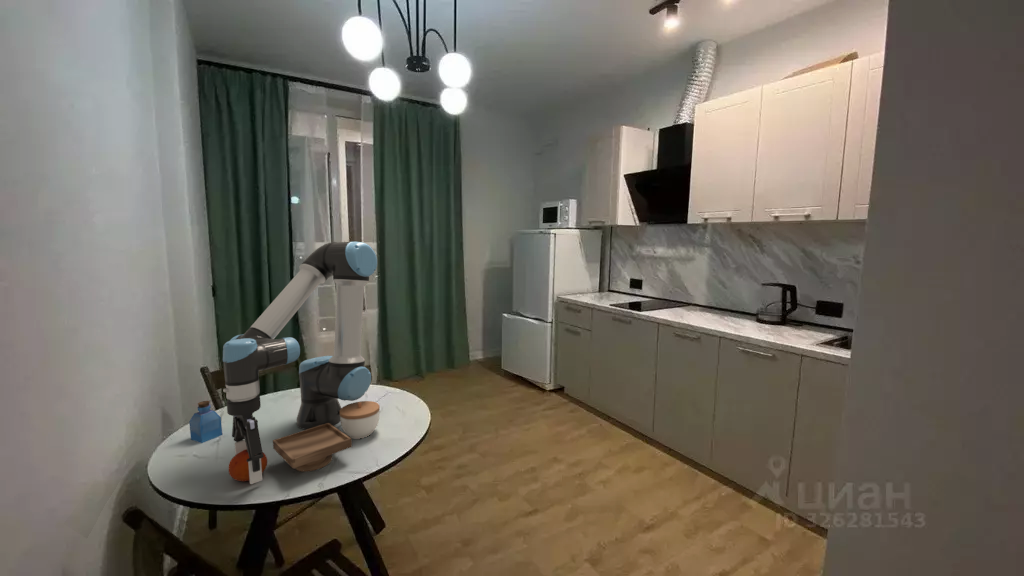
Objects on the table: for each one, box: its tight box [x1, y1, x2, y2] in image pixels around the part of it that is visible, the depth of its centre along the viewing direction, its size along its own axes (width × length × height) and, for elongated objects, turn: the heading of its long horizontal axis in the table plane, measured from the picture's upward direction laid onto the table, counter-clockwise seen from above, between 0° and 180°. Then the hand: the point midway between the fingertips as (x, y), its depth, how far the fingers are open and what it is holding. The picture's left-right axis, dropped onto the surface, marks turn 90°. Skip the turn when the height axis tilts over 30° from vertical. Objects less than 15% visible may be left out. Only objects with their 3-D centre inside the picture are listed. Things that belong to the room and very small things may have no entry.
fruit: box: [228, 449, 268, 482], centre depth 111 cm, size 9×9×8 cm
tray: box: [272, 423, 353, 473], centre depth 119 cm, size 16×16×7 cm
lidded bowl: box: [339, 400, 381, 440], centre depth 136 cm, size 13×13×11 cm
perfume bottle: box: [189, 400, 223, 444], centre depth 135 cm, size 6×6×12 cm
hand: (248, 472), depth 111 cm, fingers open, 13 cm apart
